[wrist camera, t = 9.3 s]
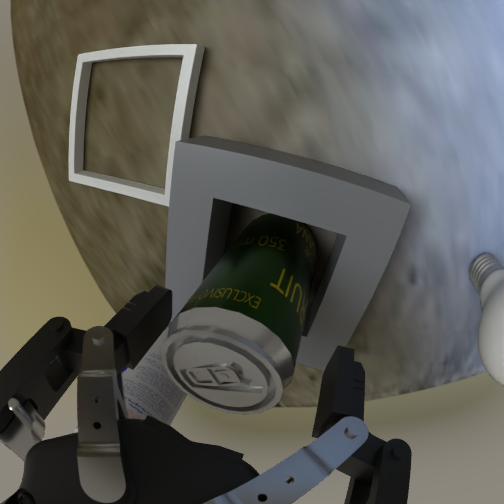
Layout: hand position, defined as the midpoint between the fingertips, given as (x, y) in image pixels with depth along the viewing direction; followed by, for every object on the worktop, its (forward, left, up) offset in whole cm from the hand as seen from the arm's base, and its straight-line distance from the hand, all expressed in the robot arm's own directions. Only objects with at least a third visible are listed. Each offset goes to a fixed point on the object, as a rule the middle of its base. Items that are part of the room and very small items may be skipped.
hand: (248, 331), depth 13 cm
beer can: (0, 0, -9) cm, 9 cm away
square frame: (+14, -7, -9) cm, 18 cm away
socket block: (0, 0, -9) cm, 9 cm away
